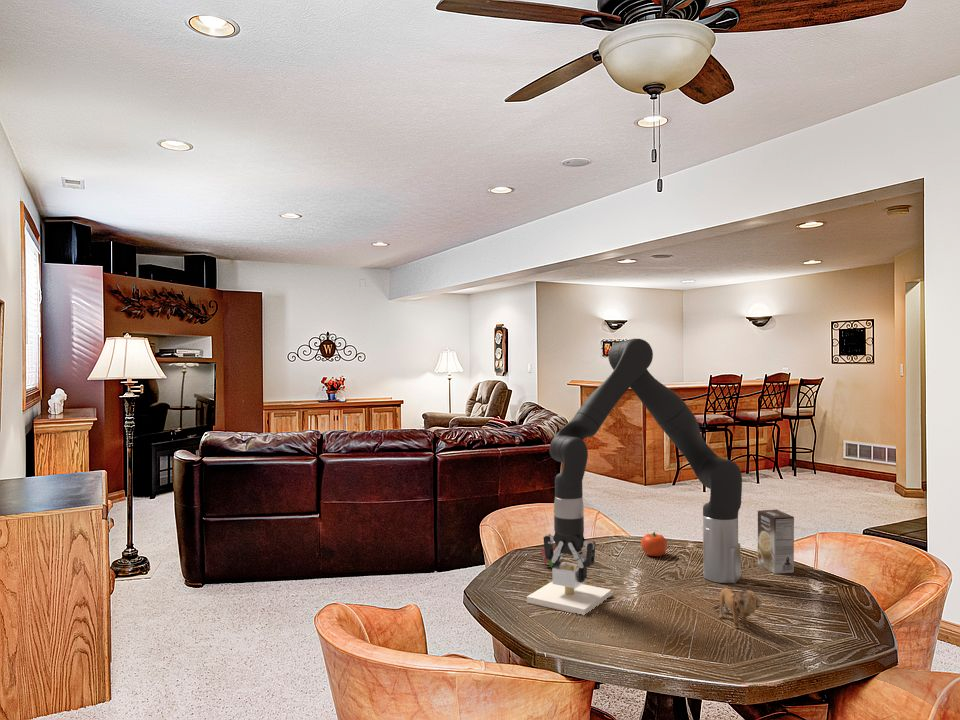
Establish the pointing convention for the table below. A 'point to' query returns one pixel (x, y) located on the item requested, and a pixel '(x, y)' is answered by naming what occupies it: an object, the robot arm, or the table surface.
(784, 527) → the coffee box
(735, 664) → the table surface
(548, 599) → the post board
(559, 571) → the steel collar
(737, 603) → the lion figurine
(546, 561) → the geometric puzzle
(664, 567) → the table surface
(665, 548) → the tomato
